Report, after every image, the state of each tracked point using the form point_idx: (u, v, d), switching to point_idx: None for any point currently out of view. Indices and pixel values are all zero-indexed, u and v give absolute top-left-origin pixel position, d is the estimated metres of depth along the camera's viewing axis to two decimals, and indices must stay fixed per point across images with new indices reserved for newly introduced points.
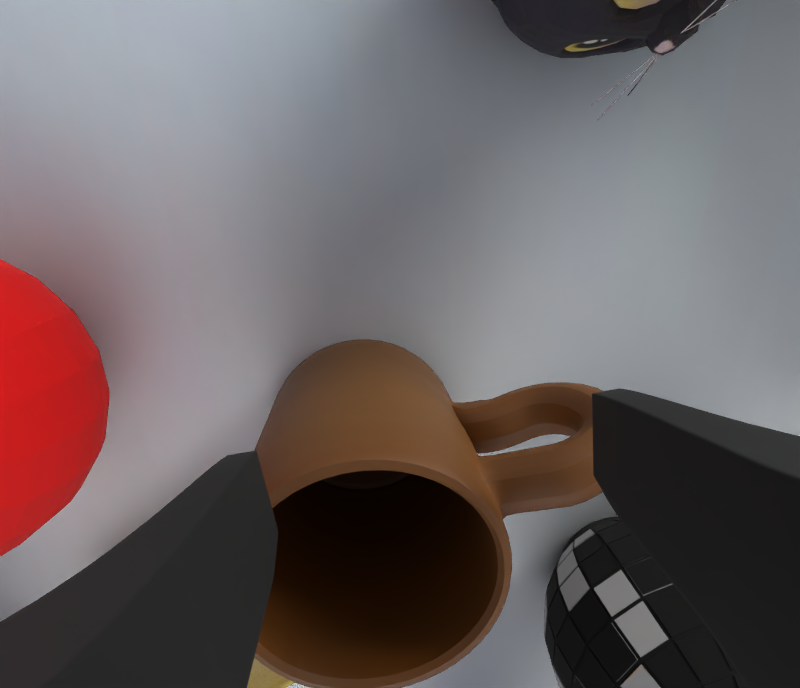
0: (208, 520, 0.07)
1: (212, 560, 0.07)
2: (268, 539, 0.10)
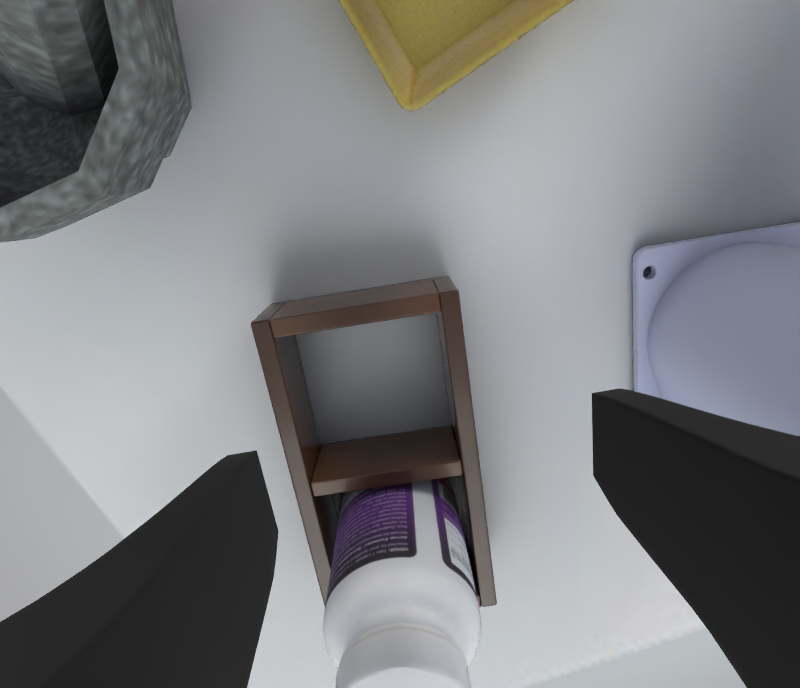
0: (208, 520, 0.07)
1: (212, 560, 0.07)
2: (268, 539, 0.10)
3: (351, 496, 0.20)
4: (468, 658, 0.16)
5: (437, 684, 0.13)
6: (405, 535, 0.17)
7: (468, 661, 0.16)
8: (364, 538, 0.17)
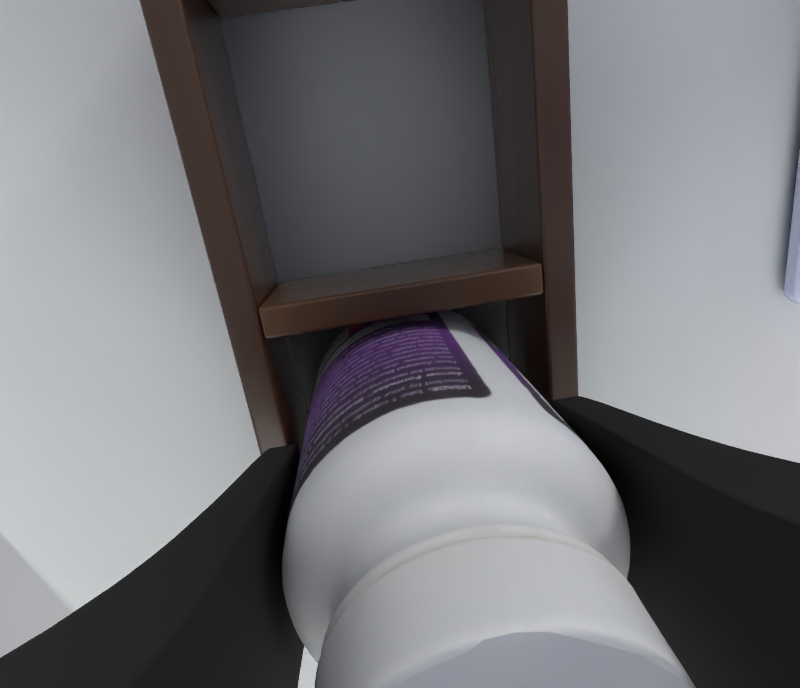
0: (264, 510, 0.07)
1: (268, 550, 0.07)
2: None
3: (334, 355, 0.11)
4: None
5: (627, 680, 0.04)
6: (457, 370, 0.08)
7: None
8: (367, 385, 0.08)
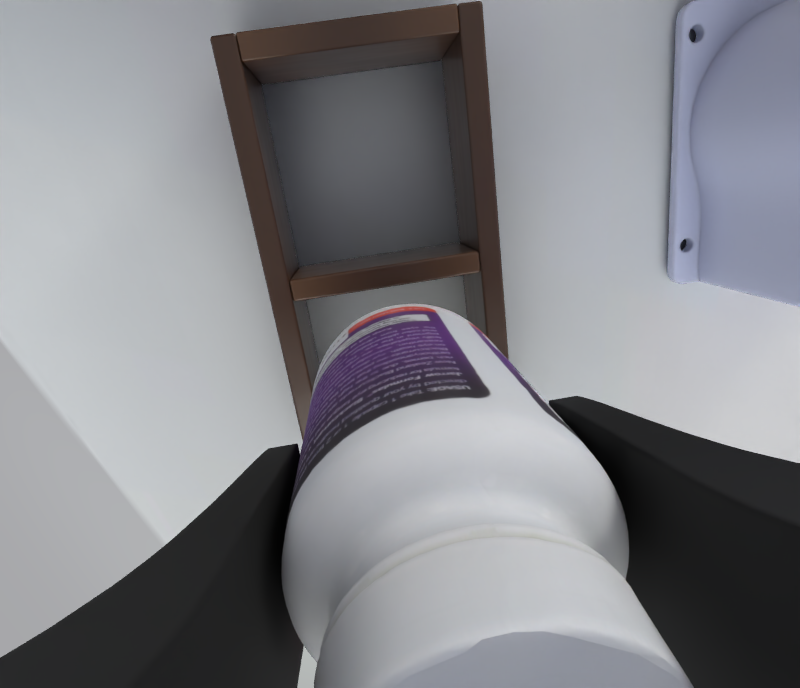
0: (263, 511, 0.07)
1: (268, 550, 0.07)
2: None
3: (334, 354, 0.11)
4: None
5: (626, 680, 0.04)
6: (456, 371, 0.08)
7: None
8: (367, 385, 0.08)
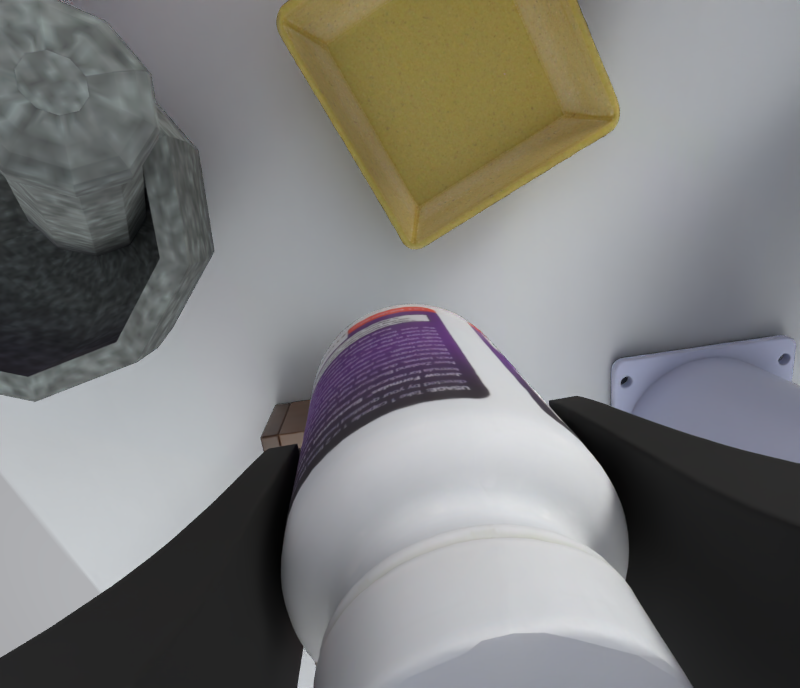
0: (263, 510, 0.07)
1: (268, 550, 0.07)
2: None
3: (333, 355, 0.11)
4: None
5: (626, 681, 0.04)
6: (455, 371, 0.08)
7: None
8: (366, 385, 0.08)
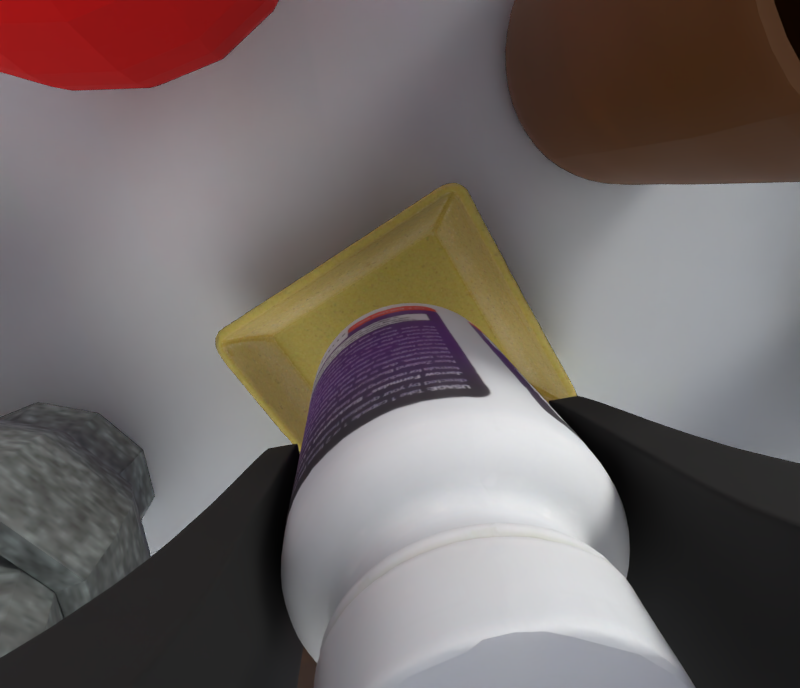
0: (263, 511, 0.07)
1: (268, 550, 0.07)
2: None
3: (333, 354, 0.11)
4: None
5: (627, 680, 0.04)
6: (456, 370, 0.08)
7: None
8: (366, 384, 0.08)
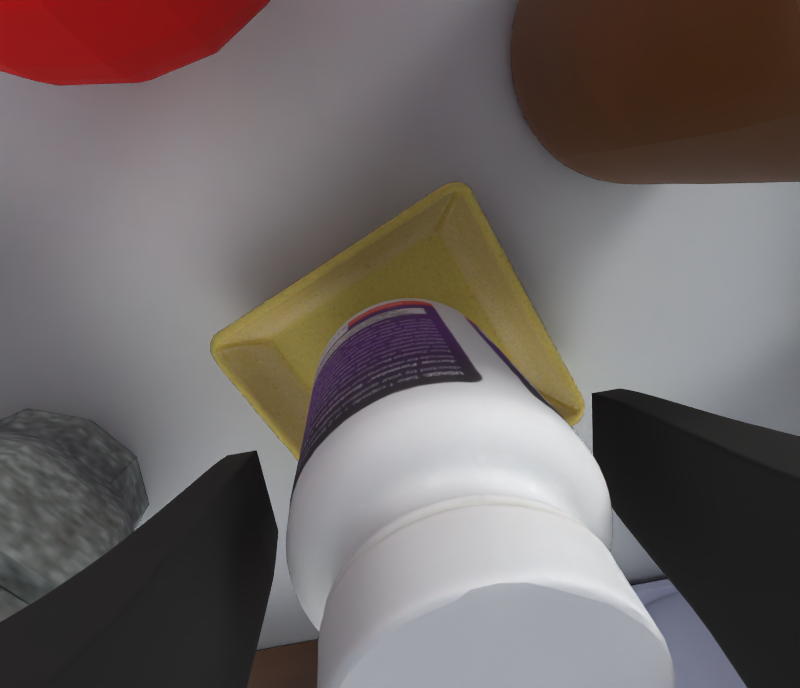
0: (208, 520, 0.07)
1: (212, 560, 0.07)
2: (268, 539, 0.10)
3: (334, 347, 0.12)
4: None
5: (601, 628, 0.05)
6: (451, 358, 0.08)
7: None
8: (366, 372, 0.09)
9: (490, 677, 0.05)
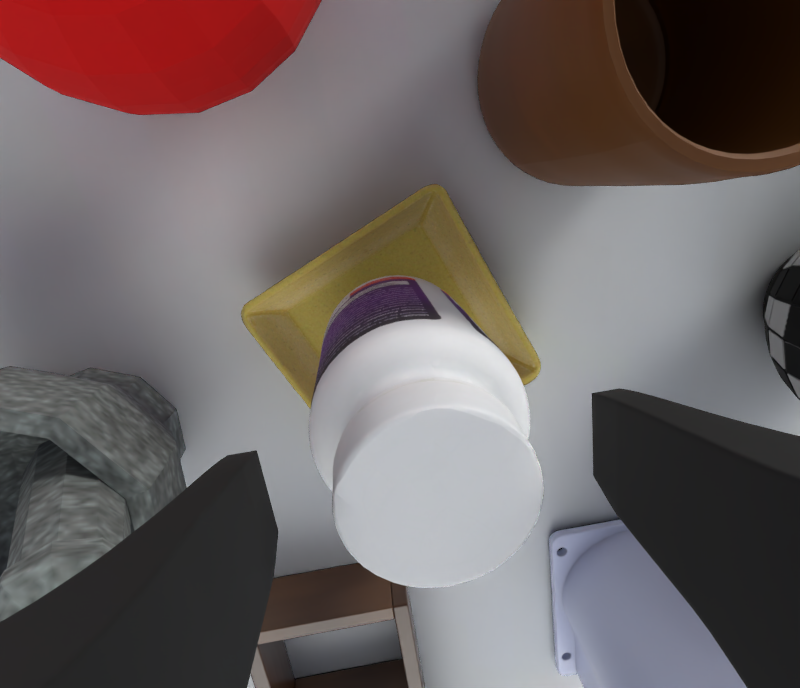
0: (208, 520, 0.07)
1: (212, 560, 0.07)
2: (268, 539, 0.10)
3: (339, 310, 0.15)
4: None
5: (495, 440, 0.08)
6: (421, 308, 0.12)
7: None
8: (363, 319, 0.12)
9: (433, 468, 0.09)
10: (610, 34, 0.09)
